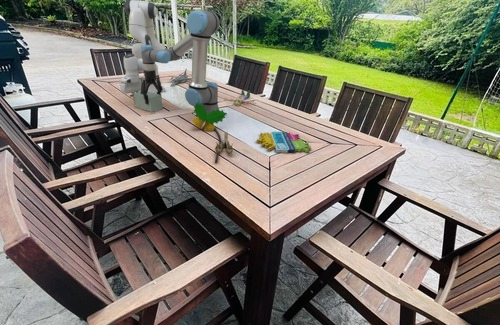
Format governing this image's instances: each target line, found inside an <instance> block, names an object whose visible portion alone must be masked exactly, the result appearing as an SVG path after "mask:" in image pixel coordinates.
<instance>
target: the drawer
mask: <svg viewBox="0 0 500 325" xmlns="http://www.w3.org/2000/svg"><path fill="white" fill-rule="evenodd" d="M129 97H130V98H133V105H134V106H135V100H134V94H133V95H132V94H129Z"/></svg>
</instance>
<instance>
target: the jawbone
mask: <svg viewBox="0 0 500 325" xmlns="http://www.w3.org/2000/svg"><path fill="white" fill-rule="evenodd" d="M223 135H224V136H223V140H222V139H221V144H220V145H219V143H218V142H215V144H216V146H215V148H214V149H215V152H214V154H215V155H217V153H219V154H218V156H219V155H220V153H221V152H223V151H224V150H226V152H227V153H228V155H229V156H233V155H234V154H233V153H234V148H233V144H234V143H230V140H228V139H229V138H228V137H229V136H228V135H229V133H228V131H226V132H224V134H223Z"/></svg>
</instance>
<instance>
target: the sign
mask: <svg viewBox="0 0 500 325" xmlns="http://www.w3.org/2000/svg"><path fill="white" fill-rule="evenodd" d="M299 136H300V135H299V134H298V133H296V134H294V133H291V132H287V131H270V132H264V133H263V132H260V133H259V139H258V138H257V139H256V143H257V144H261V148H263V147H264V148H265V149H267V151H268V152H271V151H272V150H273V149H275V152H276V153H283V154H285V153H287V154H288V153H290V154H293V153H296V152H298V153H301V152H305V153H310V151H311V150H312V149H311V148H312V146H309V142H304V141H303V139H302V138H299Z"/></svg>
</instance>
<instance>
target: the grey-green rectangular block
mask: <svg viewBox="0 0 500 325" xmlns="http://www.w3.org/2000/svg"><path fill="white" fill-rule="evenodd" d="M133 94H134V99H133V101H134V100H135V105H134V106H135V108H136V109H141V110H143V111H147V112H150V113H153V112H158V111H160V110H163V107H164V106H163V99H162V97H163V96H162V94H161V95H159V94H157V93H152V92H147V95H148V101H149V104H145V100H144V95H142V94H141V91H139V92H137V93H136V92H135V93H133Z"/></svg>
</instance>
